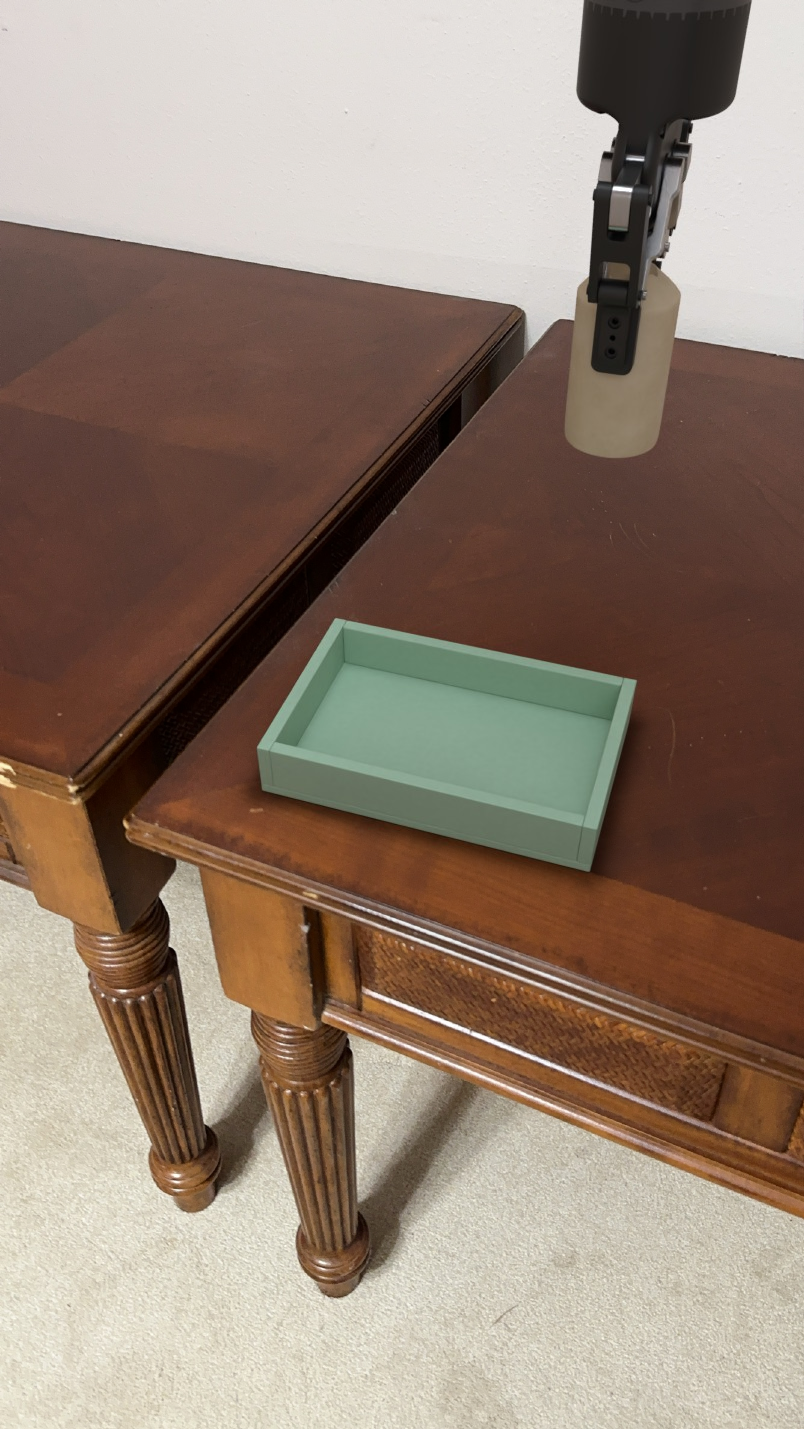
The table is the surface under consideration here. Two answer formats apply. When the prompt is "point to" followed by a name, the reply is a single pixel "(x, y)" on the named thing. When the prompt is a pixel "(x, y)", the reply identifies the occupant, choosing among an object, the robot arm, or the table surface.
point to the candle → (622, 406)
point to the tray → (452, 741)
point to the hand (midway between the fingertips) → (622, 346)
